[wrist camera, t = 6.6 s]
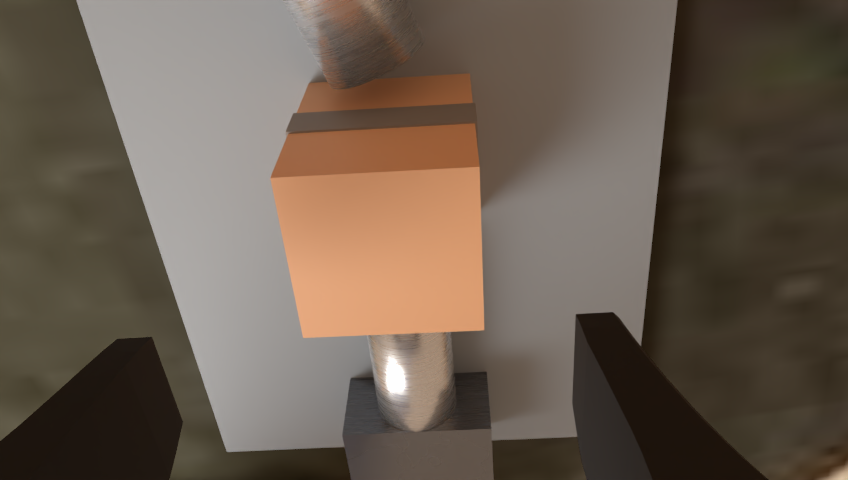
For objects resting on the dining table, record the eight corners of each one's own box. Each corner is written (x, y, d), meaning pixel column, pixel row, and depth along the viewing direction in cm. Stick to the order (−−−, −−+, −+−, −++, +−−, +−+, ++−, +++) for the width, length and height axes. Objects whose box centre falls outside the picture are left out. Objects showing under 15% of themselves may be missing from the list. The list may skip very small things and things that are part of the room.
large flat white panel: (625, 412, 26) (631, 434, 25) (233, 430, 26) (227, 452, 26) (705, -418, 14) (722, -431, 13) (-12, -340, 15) (-40, -348, 14)
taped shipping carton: (476, 214, 20) (487, 331, 16) (329, 221, 20) (301, 339, 16) (472, 71, 18) (481, 163, 14) (306, 80, 18) (266, 175, 14)
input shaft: (487, 402, 25) (493, 482, 23) (362, 408, 26) (353, 488, 23) (479, 227, 22) (485, 298, 19) (331, 236, 22) (315, 307, 19)
